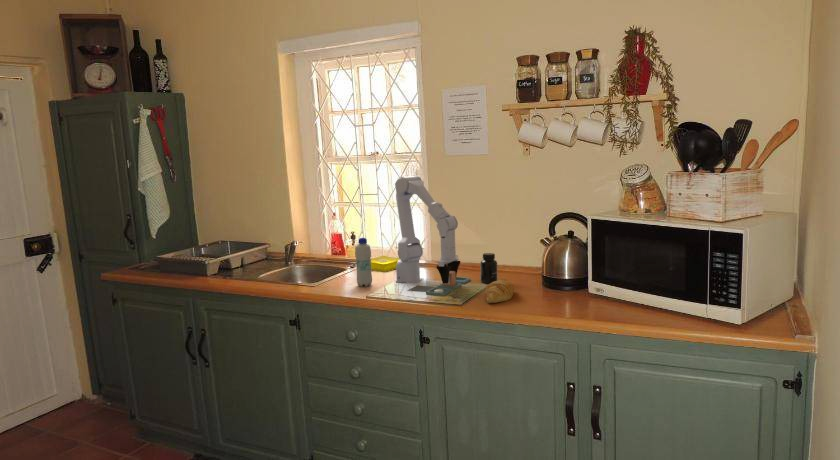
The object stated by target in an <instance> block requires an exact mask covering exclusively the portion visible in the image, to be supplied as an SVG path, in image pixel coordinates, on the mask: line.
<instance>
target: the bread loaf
mask: <svg viewBox="0 0 840 460" xmlns="http://www.w3.org/2000/svg"><path fill="white" fill-rule="evenodd" d="M485 290H486V291H485V292H486V293H485V296H486V302H487V303H489V304H495V303H501V302H506V301H510V300H511V299H512V298H513V295H514V294H515V293H514V291H515V288H514V286H513V284H512V282H510V281H508V280H507V279H497V281H494V282H492V283H490V284H487V287H486V289H485Z"/></svg>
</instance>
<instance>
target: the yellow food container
mask: <svg viewBox="0 0 840 460" xmlns="http://www.w3.org/2000/svg"><path fill="white" fill-rule="evenodd" d="M399 260H400V258H399V257H396V256H388V255H381V256H378V257H377V256H376V257H372V258H371V271H375V272H380V273H381V272H383V273H384V272H385V273H386V272H390V271H394V270H396V265H397V262H398V261H399Z"/></svg>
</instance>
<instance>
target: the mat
mask: <svg viewBox="0 0 840 460" xmlns="http://www.w3.org/2000/svg"><path fill="white" fill-rule="evenodd" d="M432 288H437V286H431V285H430V286H428V285H414V286H413V287H411V288H409V289H407V292H419V293H426V292H427V291H429V290H430V289H432Z"/></svg>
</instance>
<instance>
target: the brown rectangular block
mask: <svg viewBox="0 0 840 460" xmlns="http://www.w3.org/2000/svg"><path fill="white" fill-rule="evenodd" d="M456 277H457V275H456V271H450V272H449V281H448V283H441V284H443V286H450V287H454V286H455V285H456Z"/></svg>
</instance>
